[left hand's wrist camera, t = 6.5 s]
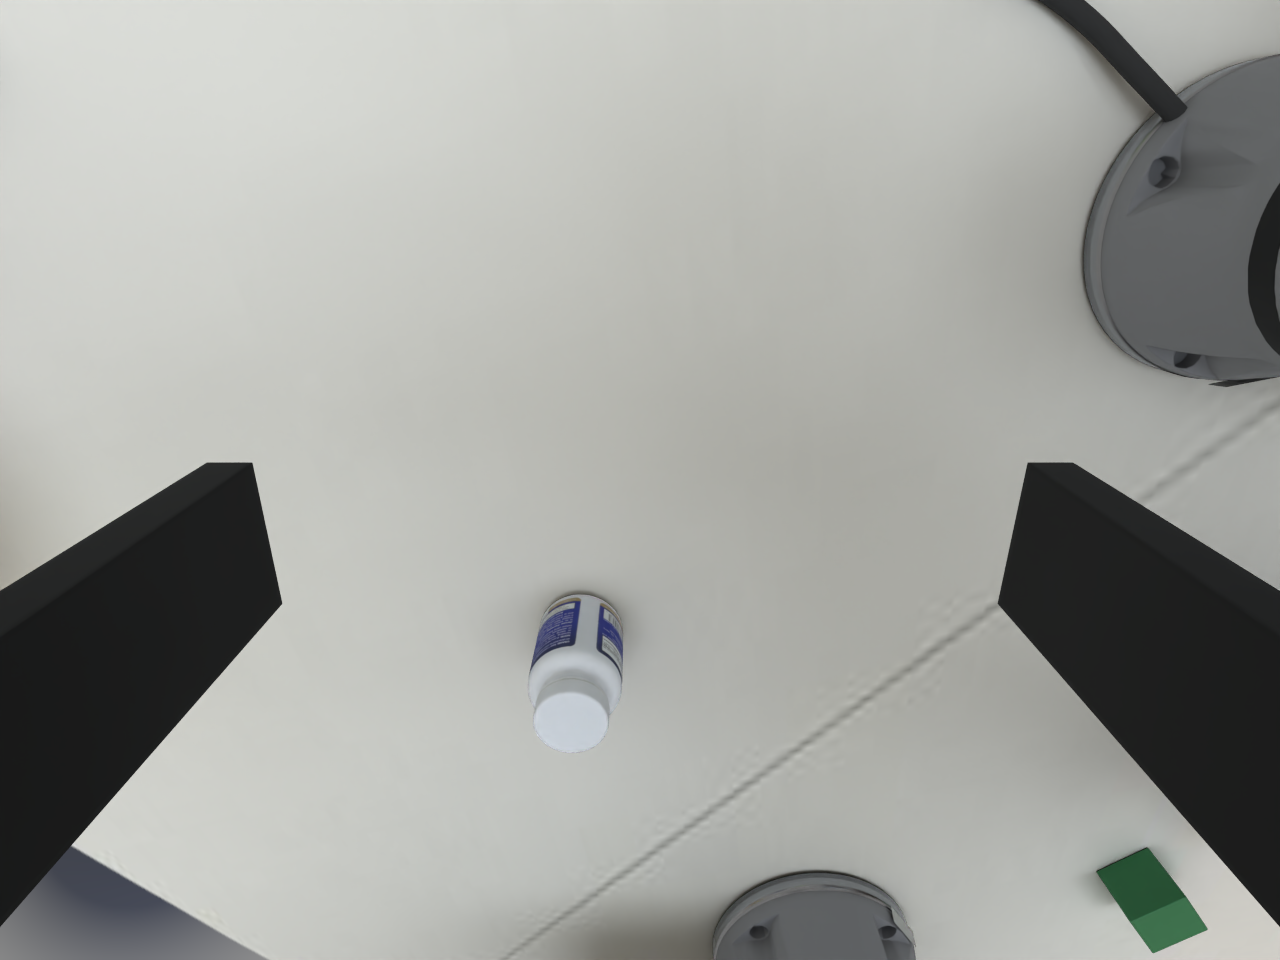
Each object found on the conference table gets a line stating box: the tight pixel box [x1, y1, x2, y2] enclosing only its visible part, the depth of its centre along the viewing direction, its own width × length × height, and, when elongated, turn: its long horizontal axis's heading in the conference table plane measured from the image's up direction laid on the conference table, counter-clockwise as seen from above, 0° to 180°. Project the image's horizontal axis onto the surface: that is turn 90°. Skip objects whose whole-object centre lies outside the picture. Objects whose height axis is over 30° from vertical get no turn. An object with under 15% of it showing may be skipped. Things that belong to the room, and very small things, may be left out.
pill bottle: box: [528, 594, 623, 753], centre depth 42 cm, size 5×5×9 cm
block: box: [1097, 848, 1208, 953], centre depth 52 cm, size 4×4×4 cm
